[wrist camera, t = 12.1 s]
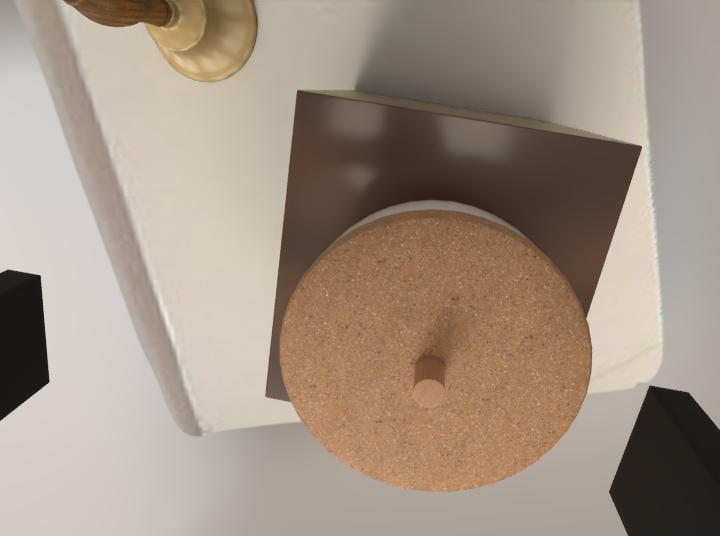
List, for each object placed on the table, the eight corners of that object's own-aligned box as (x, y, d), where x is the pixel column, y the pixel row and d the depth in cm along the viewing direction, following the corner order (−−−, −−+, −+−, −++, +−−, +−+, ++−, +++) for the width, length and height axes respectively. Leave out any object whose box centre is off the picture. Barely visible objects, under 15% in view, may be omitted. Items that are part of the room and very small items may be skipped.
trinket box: (592, 242, 24) (687, 332, 15) (473, 418, 27) (494, 575, 18) (378, 135, 23) (346, 163, 14) (288, 328, 27) (218, 444, 18)
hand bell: (277, 48, 40) (184, 22, 25) (190, 101, 42) (56, 107, 27) (220, -62, 38) (82, -161, 23) (131, 0, 40) (-47, -55, 25)
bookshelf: (353, 90, 40) (297, 90, 23) (550, 122, 39) (642, 146, 22) (326, 283, 45) (264, 397, 29) (499, 315, 44) (542, 454, 27)
